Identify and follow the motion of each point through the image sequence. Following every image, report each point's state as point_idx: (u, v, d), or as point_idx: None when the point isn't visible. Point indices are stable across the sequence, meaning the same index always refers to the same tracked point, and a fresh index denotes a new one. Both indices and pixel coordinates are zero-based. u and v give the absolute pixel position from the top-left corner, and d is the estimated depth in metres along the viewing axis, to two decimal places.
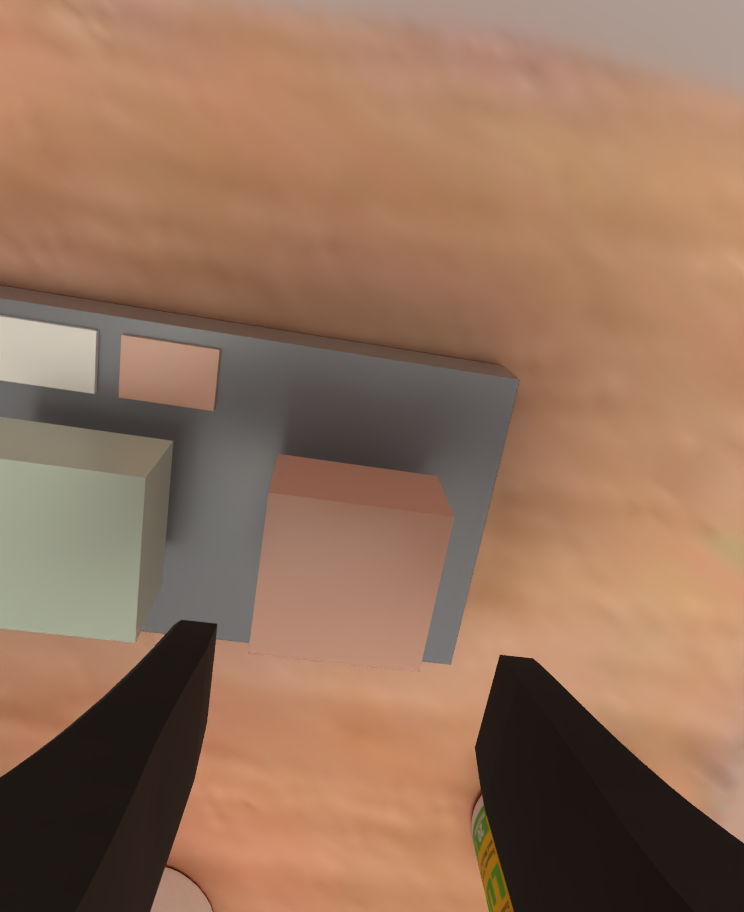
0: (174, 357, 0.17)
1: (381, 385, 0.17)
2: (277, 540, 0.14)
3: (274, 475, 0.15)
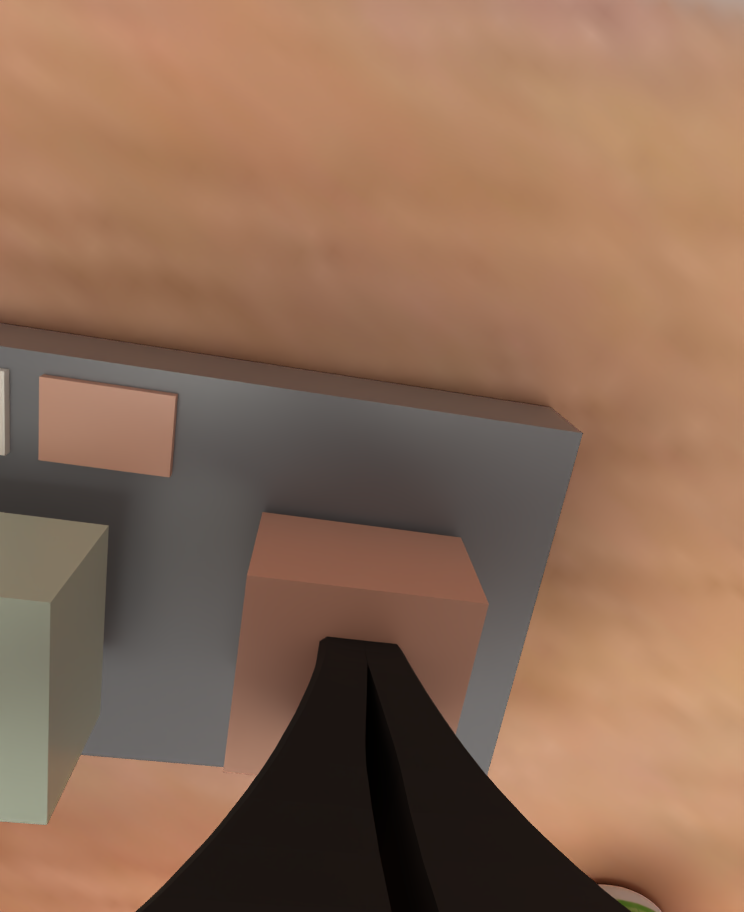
0: (113, 406, 0.12)
1: (396, 440, 0.13)
2: (259, 635, 0.11)
3: (256, 546, 0.11)
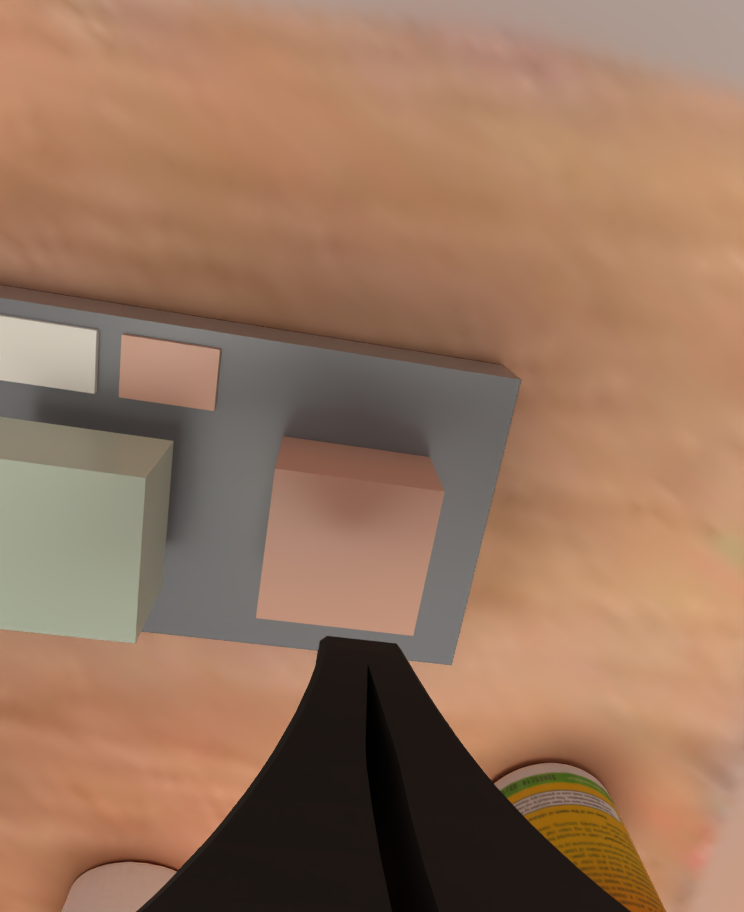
0: (174, 357, 0.16)
1: (382, 384, 0.17)
2: (283, 512, 0.15)
3: (280, 454, 0.16)
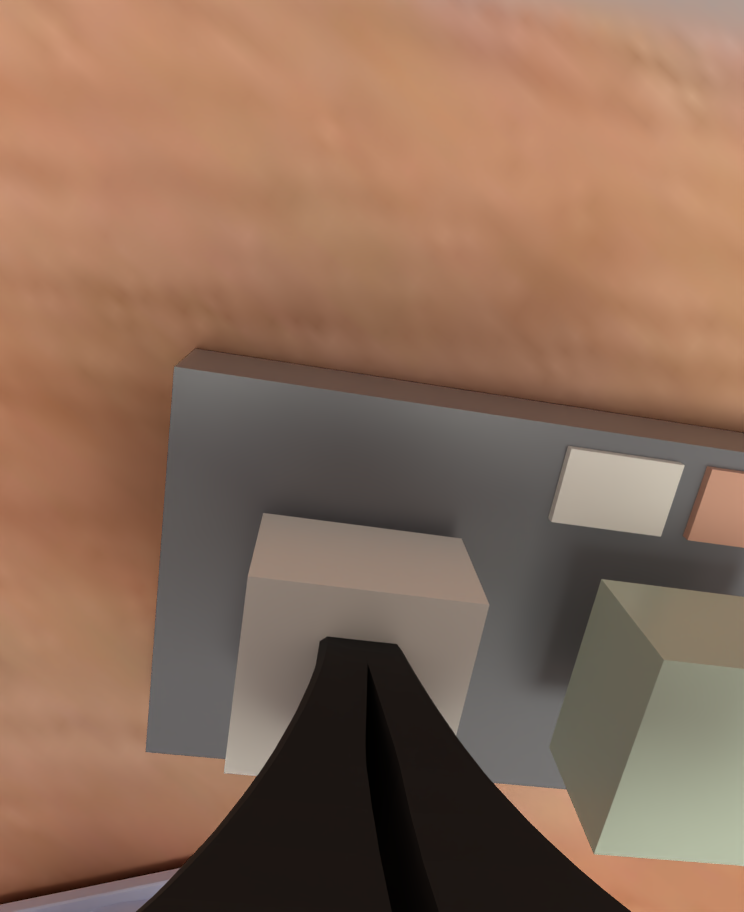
0: None
1: None
2: None
3: None
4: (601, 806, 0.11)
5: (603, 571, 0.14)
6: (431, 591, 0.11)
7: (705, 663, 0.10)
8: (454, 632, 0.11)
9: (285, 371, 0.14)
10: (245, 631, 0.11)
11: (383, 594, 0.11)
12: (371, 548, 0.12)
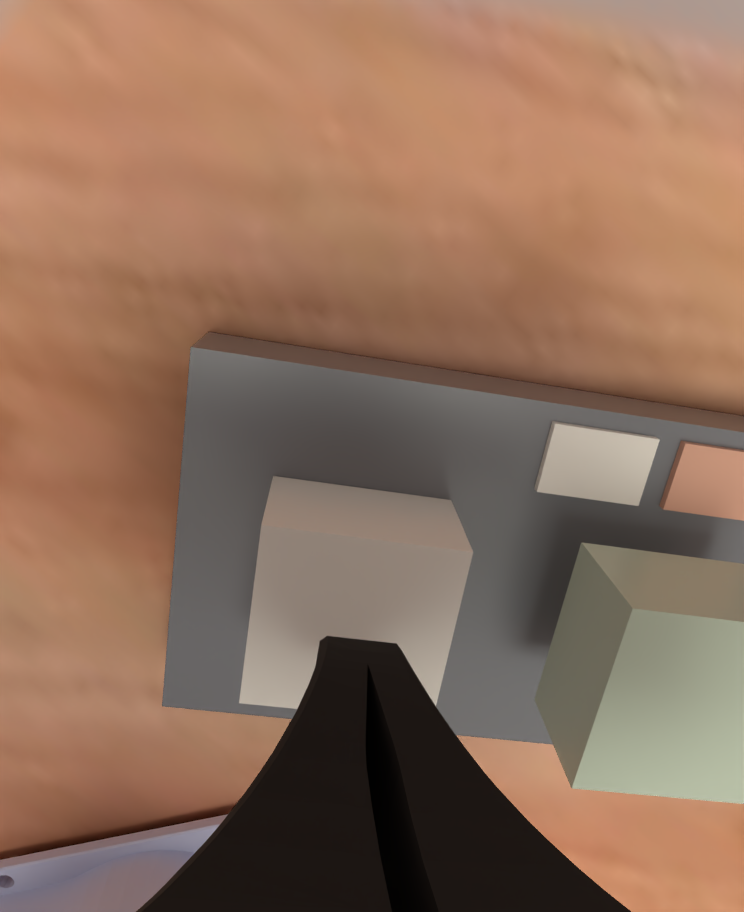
0: (735, 466, 0.15)
1: None
2: None
3: None
4: (578, 745, 0.13)
5: (585, 539, 0.15)
6: (422, 540, 0.13)
7: (670, 612, 0.11)
8: (442, 576, 0.13)
9: (292, 352, 0.15)
10: (259, 574, 0.12)
11: (380, 541, 0.12)
12: (369, 506, 0.14)
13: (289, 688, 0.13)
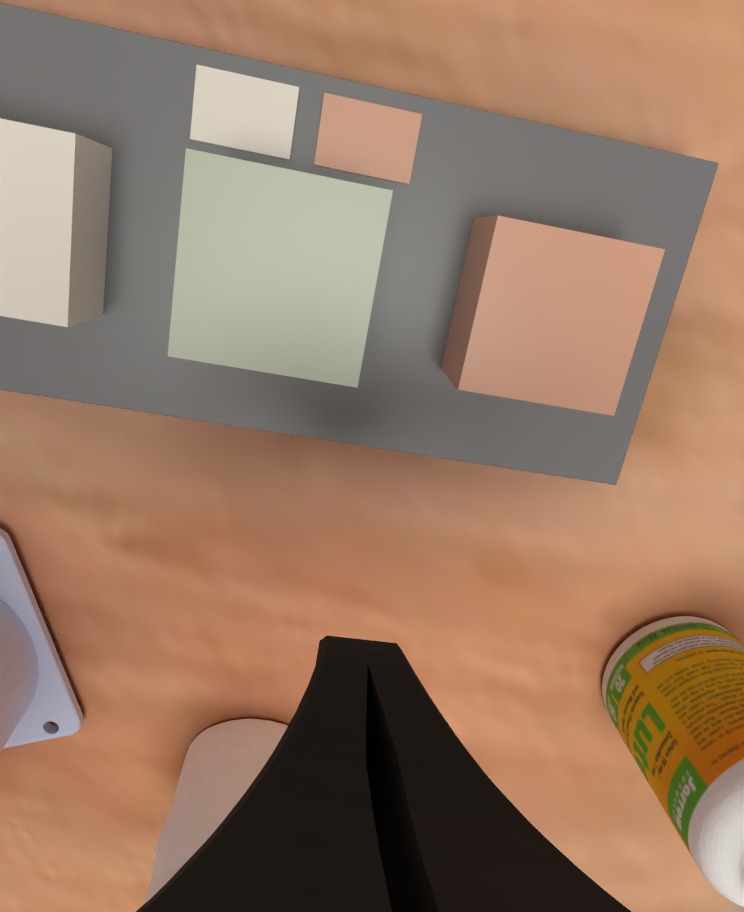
0: (375, 120, 0.16)
1: (579, 163, 0.17)
2: (499, 268, 0.15)
3: None
4: None
5: None
6: (31, 125, 0.14)
7: (223, 156, 0.13)
8: (50, 160, 0.14)
9: None
10: None
11: None
12: None
13: None
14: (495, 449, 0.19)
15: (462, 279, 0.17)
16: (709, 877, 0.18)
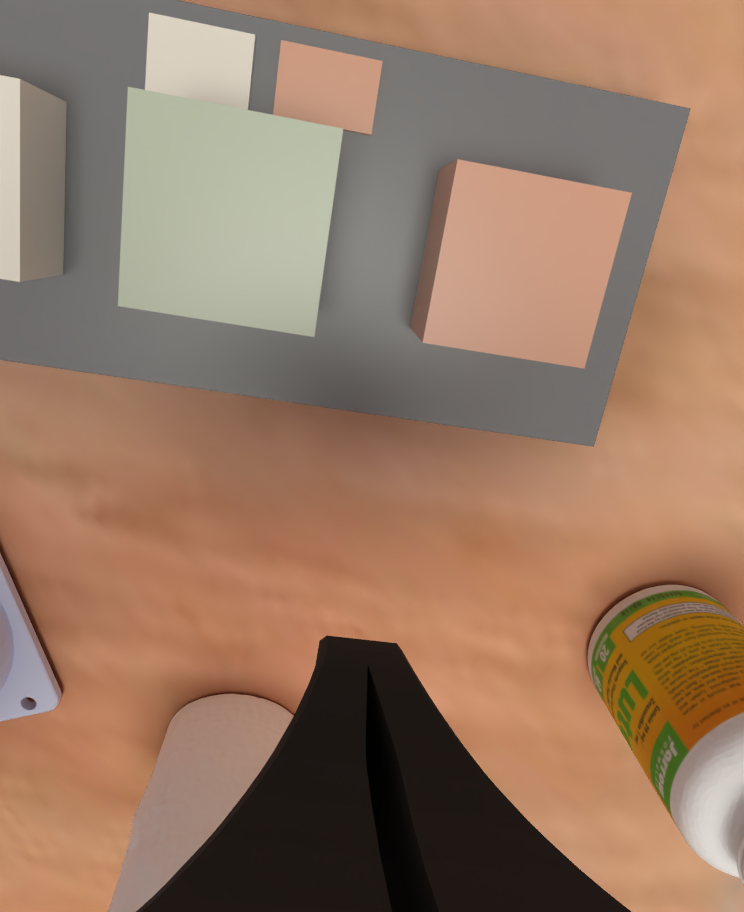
0: (334, 68, 0.16)
1: (546, 110, 0.16)
2: (461, 214, 0.15)
3: None
4: None
5: None
6: None
7: (167, 94, 0.12)
8: None
9: None
10: None
11: None
12: None
13: None
14: (468, 410, 0.19)
15: (428, 233, 0.17)
16: (691, 843, 0.18)
